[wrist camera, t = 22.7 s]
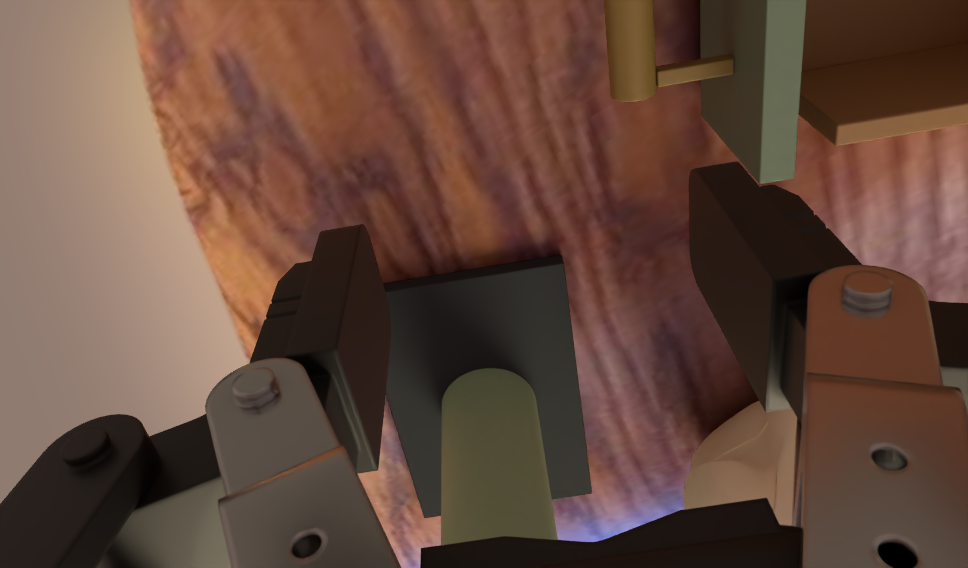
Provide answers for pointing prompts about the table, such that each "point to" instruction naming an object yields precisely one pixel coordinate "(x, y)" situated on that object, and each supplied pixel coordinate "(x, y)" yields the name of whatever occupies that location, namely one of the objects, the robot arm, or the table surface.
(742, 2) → the drawer
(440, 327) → the drying mat
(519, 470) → the soap bottle
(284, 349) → the robot arm
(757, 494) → the figurine
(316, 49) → the table surface
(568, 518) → the table surface
